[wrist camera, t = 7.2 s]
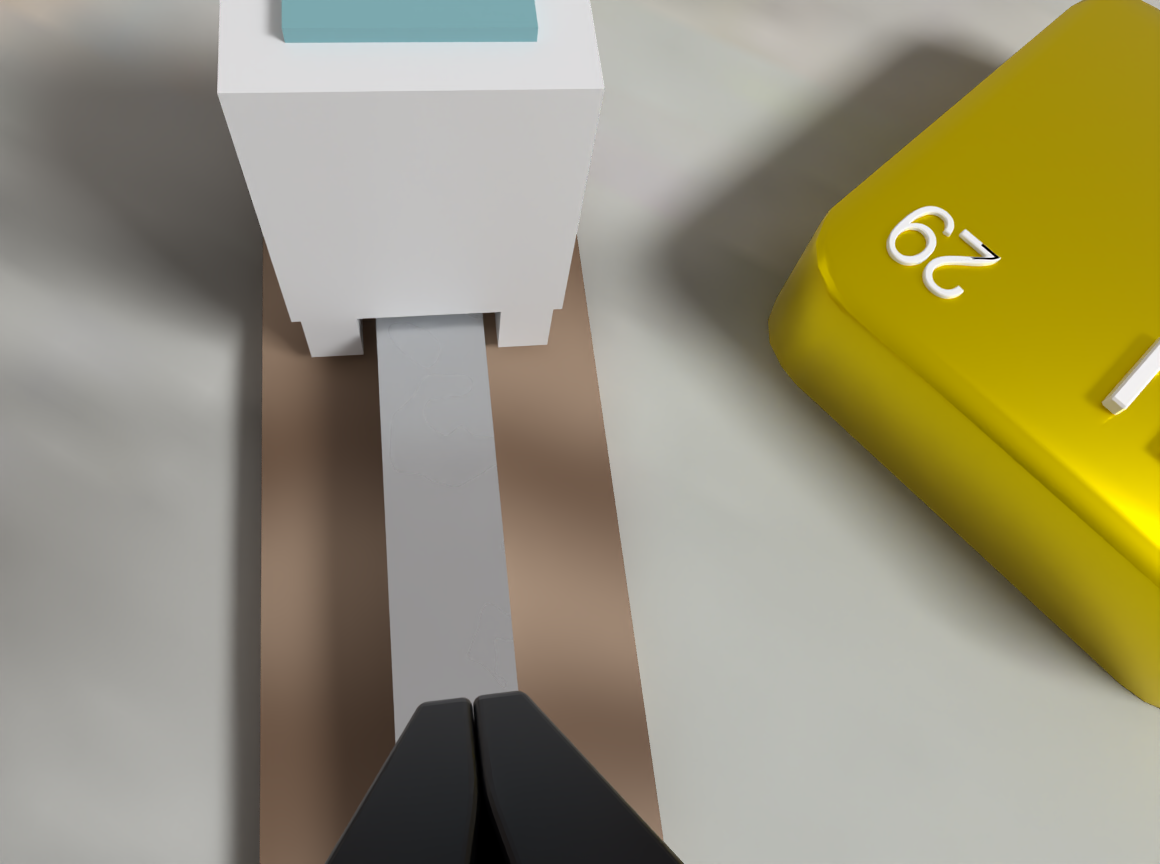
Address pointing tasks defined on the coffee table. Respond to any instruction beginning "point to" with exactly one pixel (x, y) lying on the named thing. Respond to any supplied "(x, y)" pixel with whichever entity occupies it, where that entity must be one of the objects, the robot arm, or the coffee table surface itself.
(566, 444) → the mounting board
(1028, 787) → the coffee table surface
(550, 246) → the block
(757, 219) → the coffee table surface
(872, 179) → the element tile
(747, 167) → the coffee table surface
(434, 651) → the rail
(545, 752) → the robot arm
